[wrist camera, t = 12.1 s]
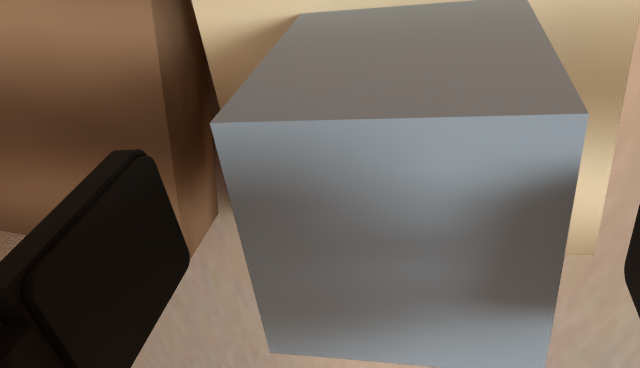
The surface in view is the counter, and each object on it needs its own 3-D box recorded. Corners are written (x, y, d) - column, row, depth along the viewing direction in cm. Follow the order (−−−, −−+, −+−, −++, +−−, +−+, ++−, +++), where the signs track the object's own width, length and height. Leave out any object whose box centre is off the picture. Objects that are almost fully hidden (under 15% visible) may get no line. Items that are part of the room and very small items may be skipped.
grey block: (301, 13, 15) (209, 122, 9) (525, -4, 13) (588, 114, 7) (325, 188, 18) (269, 352, 12) (508, 189, 16) (543, 376, 11)
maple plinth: (218, -110, 17) (165, -99, 14) (621, -174, 14) (676, -181, 11) (283, 191, 23) (256, 248, 20) (569, 189, 20) (594, 255, 17)
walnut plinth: (-54, -91, 19) (-158, -77, 16) (200, -68, 18) (144, -47, 14) (33, 176, 26) (-27, 225, 23) (221, 208, 24) (186, 265, 21)
